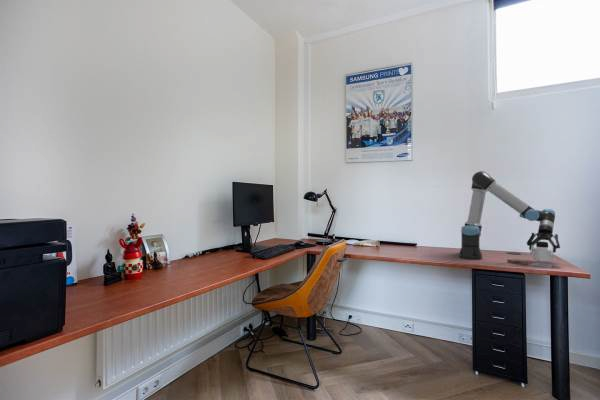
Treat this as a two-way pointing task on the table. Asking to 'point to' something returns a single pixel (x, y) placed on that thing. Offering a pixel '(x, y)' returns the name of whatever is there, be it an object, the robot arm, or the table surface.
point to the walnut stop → (518, 262)
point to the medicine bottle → (542, 252)
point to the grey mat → (542, 265)
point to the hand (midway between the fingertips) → (541, 254)
